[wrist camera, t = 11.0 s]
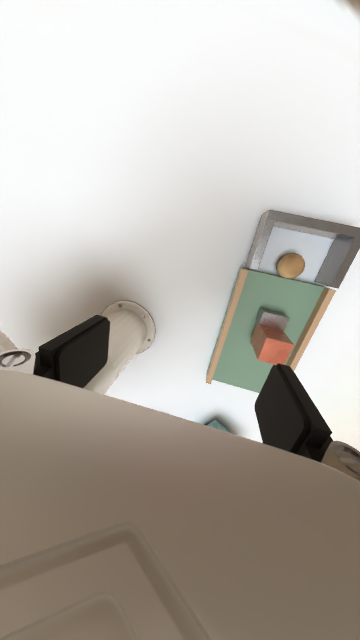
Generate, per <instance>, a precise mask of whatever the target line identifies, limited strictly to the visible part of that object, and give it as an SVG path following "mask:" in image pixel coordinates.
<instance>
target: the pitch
mask: <svg viewBox="0 0 360 640" xmlns="http://www.w3.org/2000/svg"><path fill="white" fill-rule="evenodd" d="M335 292H336V291H335V290H333V289H330V288H327V287H324V286H319V285H315V284H310V283H306V282H302V281H297V280H293V279H287V278H284V277H280V276H275V275H271V274H267V273H262V272H258V271H253V270H249V269H245V268H240V269H239V272H238V276H237V279H236V282H235V285H234V288H233V291H232V295H231V298H230V301H229V304H228V307H227V310H226V314H225V317H224V320H223V323H222V326H221V329H220V333H219V336H218V339H217V342H216V345H215V348H214V352H213V355H212V358H211V361H210V364H209V367H208V371H207V376H206V383H209V384H211V381H212V380H216V381H219V382H223V383H226V384H230V385H233V386H237V387H240V388H244V389H247V390H251V391H254V392H258V393H260V391H261V389H262V387H263V385H264V383H265V381H266V379H267V376H268V374H269V372H270V370H271V368H272V366H273V365H274V364H270V363H266V362H263V361H259V360H257V357H256V355H255V352H254V349H253V347H252V346H251V344H250V342H251V341H250V339H251V337H252V334H253V332H254V329H255V326H256V324H257V321H256V316H257V314H258V311H259V308H260V307H261V308H265V309H269V310H274V311H278V312H282V313H285V314H286V315H287V316H288V317H289V318H290V319H289V322H288V324H287V326H286V328H285V330H284V333H285V334H286V335H287V336H288V338H289V339H290V340H291V341H292V342H293V344H294V347H293V349H292V351H291V353H290V355H289V357H288V359H287V361H286V363H285V365H287V366H290V367H291V368H292V370H293V371H294V370H295V368H296V366H297V364H298V362H299V360H300V358H301V356H302V355H303V353H304V351H305V349H306V347H307V345H308V343H309V341H310V339H311V337H312V335H313V334H314V332H315V330H316V328H317V326H318V324H319V322H320V320H321V318H322V316H323V315H324V313H325V311H326V309H327V307H328V305H329V303H330V301H331V299H332V297H333V295H334V294H335Z"/></svg>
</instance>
